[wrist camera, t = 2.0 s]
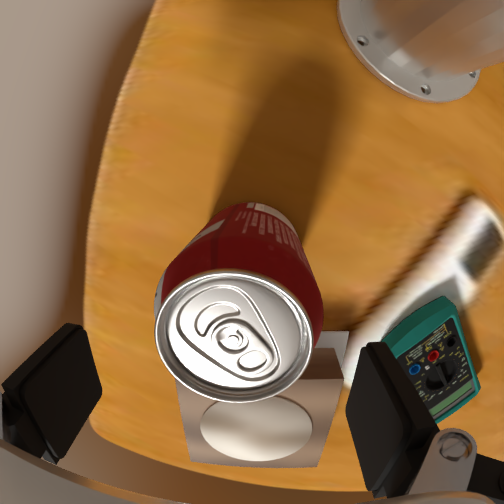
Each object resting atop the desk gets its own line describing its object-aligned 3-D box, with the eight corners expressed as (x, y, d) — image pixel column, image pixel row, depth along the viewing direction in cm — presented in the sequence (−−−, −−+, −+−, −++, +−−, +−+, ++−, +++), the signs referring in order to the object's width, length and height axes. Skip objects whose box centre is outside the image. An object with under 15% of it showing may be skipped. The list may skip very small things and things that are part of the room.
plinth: (186, 341, 24) (173, 373, 20) (334, 347, 23) (344, 380, 19) (197, 432, 27) (190, 462, 23) (313, 437, 27) (317, 468, 23)
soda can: (259, 180, 20) (250, 204, 8) (317, 258, 21) (365, 360, 10) (184, 239, 21) (103, 321, 10) (242, 309, 23) (221, 432, 11)
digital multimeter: (440, 286, 22) (456, 301, 19) (472, 378, 25) (484, 393, 22) (372, 336, 24) (382, 356, 21) (421, 415, 27) (429, 432, 24)
